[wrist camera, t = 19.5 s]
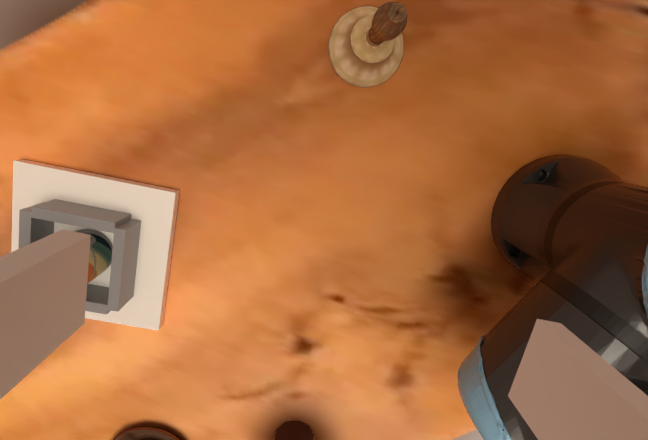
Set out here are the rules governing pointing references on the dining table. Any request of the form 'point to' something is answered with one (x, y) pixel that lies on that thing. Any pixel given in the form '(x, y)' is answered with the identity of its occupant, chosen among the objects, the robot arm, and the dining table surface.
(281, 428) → the ice cream bowl
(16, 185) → the bottle holder
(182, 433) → the dining table surface
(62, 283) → the robot arm
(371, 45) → the hand bell
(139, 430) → the cup and saucer
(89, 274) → the lotion bottle
